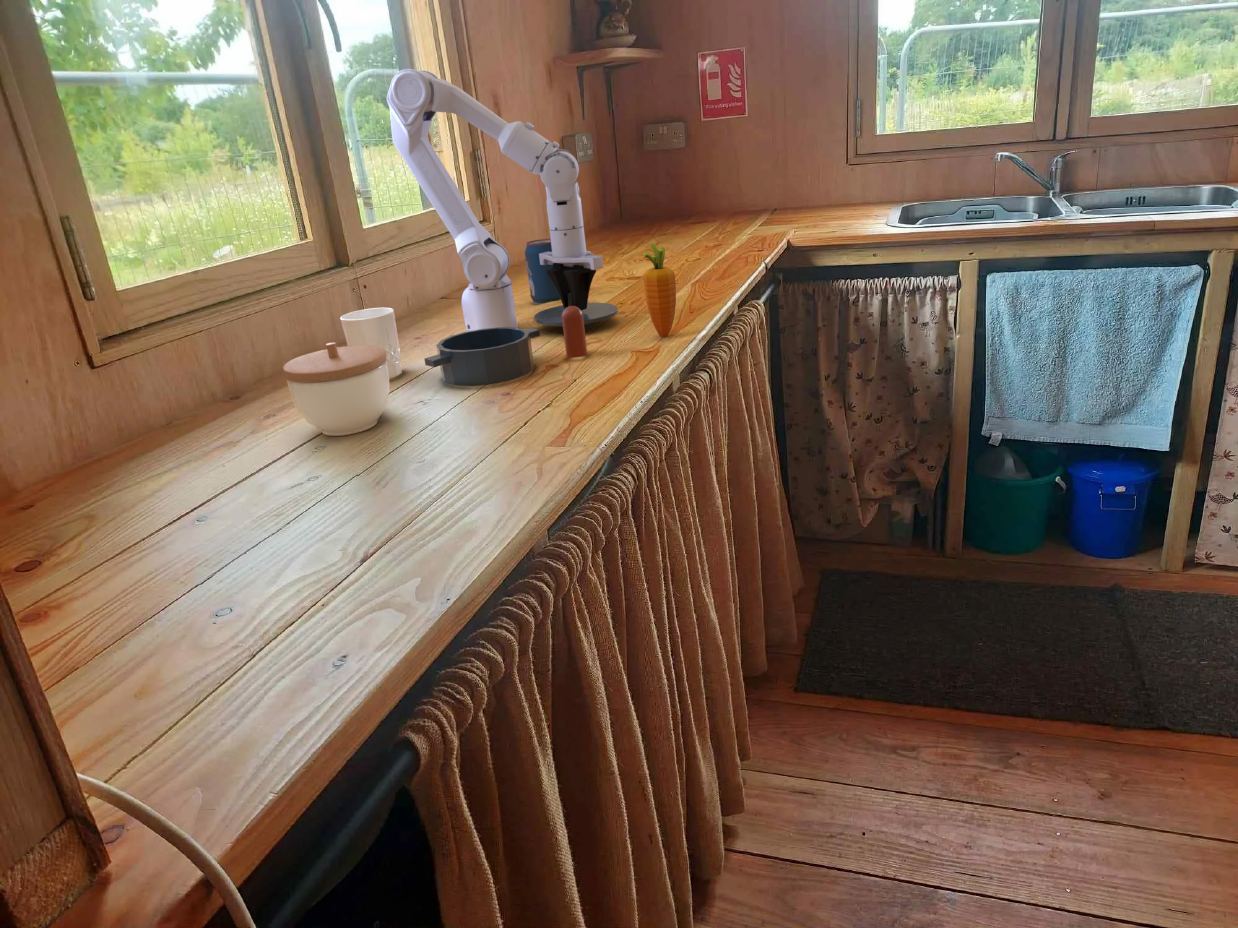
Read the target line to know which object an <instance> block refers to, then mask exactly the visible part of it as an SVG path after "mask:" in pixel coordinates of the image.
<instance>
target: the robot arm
mask: <svg viewBox="0 0 1238 928" xmlns="http://www.w3.org/2000/svg"><path fill="white" fill-rule="evenodd" d="M387 91H388V92H387V94H386V102H387V105H388V109H389V117H390V129H391V139H392V143H393V145H394V147H395V148H396V150H397V152H398V154H399V155H400V157H401V158H402V160H403V161H404V163H405V164H406V166H407V168H409V171H410V172H411V174H412V175H413V177H414V178H415V180H416V181H417V183H418V186H420V188H421V189H422V191H423V193H424V195H425V196H426V197H427V199H428V200H429V202H430V203H431V206H432V207H433V209H434V210H435V211H436V213H437V215H438V216H439V218H440V220H441V221H442V223H443V224H444V226H445V227H446V229H447V231H448V232H449V234H450V236H451V237H452V238H453V240H454V243H455V248H456V252H457V255H458V256H459V258H460V260H461V262H462V267H463V273H464V277H465V278H466V279H467V281H468V282H469V284H468V286H467V287H466V288H465V289H464V290H463V292H462V296H461V309H462V314H463V320H464V326H465V332H467V331H473V330H479V329H486V328H498V327H513V328H519V325H518V317H517V312H516V311H517V310H516V306H515V298H514V291H513V283H512V279H511V278H510V277H509V276H508V275H507V272H508V270H509V268H510V264H511V259H510V258H511V257H510V254H509V252H508V251H507V248H505V247H504V245H503V244H501V243H499V242H497V241H496V240H495V239H494V238H493V236H492V235H491V233H490V232H489V231H488V230H487V229H486V228H485V227H484V226H483V225H482V224H481V223H480V221H479V219H477V217H476V215H475V213H474V212H473V210H472V209H471V207H470V205H469V204H468V202H467V201H466V199H465V196H463V194H462V192H461V190H460V189H459V188H458V186H457V184H456V183H455V181H454V180H453V178H452V177H451V176H452V175H450V173H449V171H448V170H447V168H446V167H445V165H444V163H443V162H442V161H441V159H440V157H439V156H438V154H437V153H436V150H435V149H434V147H433V146H432V144H431V143H430V141H429V139H428V136H429V132H430V128H431V124H432V120H433V118H434V116H435V115H436V113H438V112H439V113H446V114H447V113H448V114H454V115H456V116H457V117H459V118H461V119H462V120H463V121H466V122H467V123H469V124H470V125H472V126H474V127H475V128H477V129H478V130H480V131H482V132H483V133H485V134H486V135H488V136H490V137H491V138H492V139H495V140H496V141H497V142H498V145H499V149H500V152H501V154H502V155H504V156H505V157H507V158H508V159H510V160H511V161H513V162H514V163H516V164H517V165H519V166H520V167H521V168H523V169H525V170H526V171H527V172H529V173H531V174H532V175H534V176H536V175H539V177H540V180H541V182H542V183H543V185H544V186H545V194H546V201H545V203H546V211H547V212H546V213H547V220H548V228H549V239H551V247H552V252H544V253H540V254H539V258H540V265H546V264H549V265H553V267H552V269H549V270H547V275H548V276H549V277H550V278H551V280H552V281H553V283H554V285H555V287H556V289H557V291H558V293H559V296H560V298H561V299H560V301H561V303H562V305H563V306H564V309H565V308H567V307H568V300H567V292H569V291H571V294H572V300H573V305H574V306H576V307H578V308H579V309H580V310H584V309H587V303H589V296H590V289H591V285H592V283H593V279H594V277H595V274H596V273H597V270H600V269H604V261H603V260H604V259H603V256H602V255H597V254H594V253H591V251H590V250H587V244H586V236H585V235H586V234H585V226H584V225H585V223H584V216H583V206H582V198H581V196H580V185H579V182H578V181H577V179H578V177H579V173H580V166H579V162H578V160H577V159H576V157H575V156H574V155H573V154H572V153H571V152H570V151H569V150H568V149H559V147H560V144H559V142H557V141H555V140H553V142H551V141H550V140H549V139H547V138H546V137H544V136H543V135H541V134H540V133H539V132H537V131H535V130H534V129H535V125H533V124H532V123H530V122H527V121H526V123H524V122H522V121H520V120H518V121H517V120H516V121H514V122H508V121H505V120H504V119H503V118H502V117H500V116H499V115H498V114H496V113H495V112H494V111H492V110H490V109H489V108H488V107H486V106H485V105H484V104H482V103H481V102H479V101H478V100H477V99H475V98H474V97H472V96H471V95H470V94H468V93H467V92H466V91H465V90H463V89H461V88H460V87H459V86H456V85H455V84H453V83H451V82H450V81H448V80H445V79H443V78H438V76H437V75H436V74H434V73H433V72H431V71H428V70H418V69H414V68H403V69H401V70H399V71H397V72H396V73H395V74H394V75H393V77H392V79H391V81H390V85H389V88H388V90H387Z"/></svg>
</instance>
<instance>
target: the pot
mask: <svg viewBox="0 0 1238 928" xmlns="http://www.w3.org/2000/svg"><path fill="white" fill-rule="evenodd" d="M540 336H541V331H540V329H538V328H531V327H529V328H526V329H525V328H519V327H518V328H513V327H498V328H486V329H479V330H473V331H467V332H466V331H464V332H459V333H456V334H453V335H450V336H448V337H445V338H443V339H441V340H440V341H439V342H438V343H437V344H436V351H437V354H435V355H431V356H428V357H424V365H425V366H427V367H432V368H437V367H440V372H441V373H440V374H441V378H442V379H443V382H444V383H447V384H450V385H454V386H461V387H475V386H476V387H478V386H479V387H480V386H487V385H488V386H489V385H494V384H499V383H505V382H508V381H512V380H516V379H518V378H521V377H523V376H525V375H527V374H529V373H530V372H531V371H532V370H533V368H534V366H535V362H534V361H535V360H534V354H533V348H532V347H533V346H532V341H531V340H532V339H535V338H538V337H540Z"/></svg>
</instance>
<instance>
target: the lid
mask: <svg viewBox="0 0 1238 928" xmlns="http://www.w3.org/2000/svg"><path fill="white" fill-rule="evenodd" d="M567 300H568V307H569V306H574V305H573V300H572V294H571V291H569V292H567ZM563 311H564V306H563V304H562V305H558V306H553V307H548V308H545V309H542V310H541V311H539V312H537V313H535V314H534V316H533V320H534V322H535V323H536V324H538V325H542V326H549V327H551V326H552V327H558V328H559V327H560V328H561V327H562V328H563V323H562V313H563ZM581 311H582V313H583V320H584V326H586V325H591V324H596V323H598V322H602V321H605V320H609V319H610V318H613V317H614V316H616V315H618V313H619V308H618V306H617V305H615V304H612V303H608V302H607V303H606V302H588V303H587V309H584V310H581Z"/></svg>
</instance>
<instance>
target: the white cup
mask: <svg viewBox="0 0 1238 928" xmlns="http://www.w3.org/2000/svg"><path fill="white" fill-rule="evenodd" d="M339 320H340V323H341V326H342V330H343V333H344V337H345V343H346V346H356V345H369V346H377V347H380V348H382V349H384V350H385V352H386V358H387V360H386V363H387V368H388V374H389V379H392V378H395V377H397V376H399V375H401V374H402V373H403V370H402V369H403V368H402V363H401V351H400V343H399V335H398V334H399V333H398V329H397V321H396V316H395V309H394V308H391V307H371V308H364V309H359V310H354V311H350V312H348V313H345V314H343V315H341V316H340V317H339Z"/></svg>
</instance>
